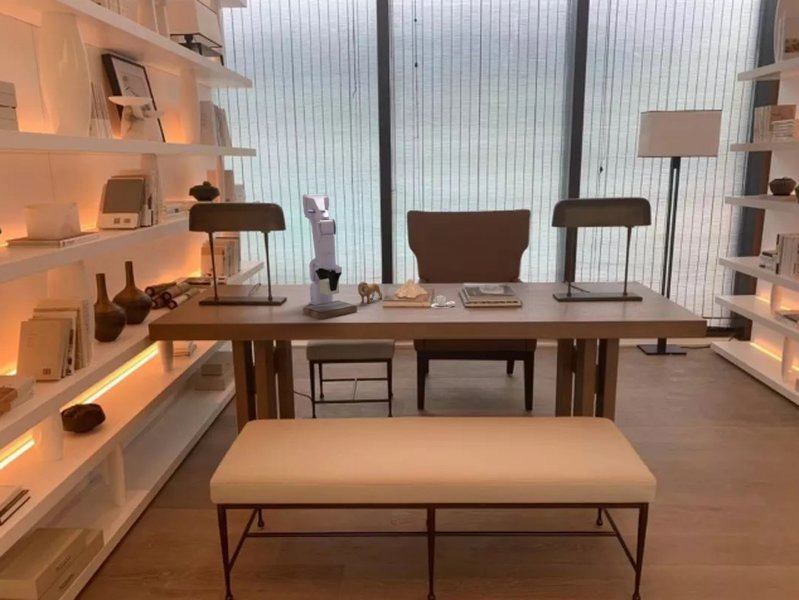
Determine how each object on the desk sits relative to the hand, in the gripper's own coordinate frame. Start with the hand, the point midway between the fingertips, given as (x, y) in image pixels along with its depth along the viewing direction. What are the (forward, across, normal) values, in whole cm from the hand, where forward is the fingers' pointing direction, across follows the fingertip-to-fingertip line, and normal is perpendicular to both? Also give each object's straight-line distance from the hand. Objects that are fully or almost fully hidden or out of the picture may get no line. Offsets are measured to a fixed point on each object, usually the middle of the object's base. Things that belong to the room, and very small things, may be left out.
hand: (329, 289), depth 233 cm
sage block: (+1, 0, 0) cm, 1 cm away
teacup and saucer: (+10, +24, +36) cm, 44 cm away
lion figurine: (+9, -3, +22) cm, 24 cm away
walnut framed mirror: (+9, 0, 0) cm, 9 cm away
